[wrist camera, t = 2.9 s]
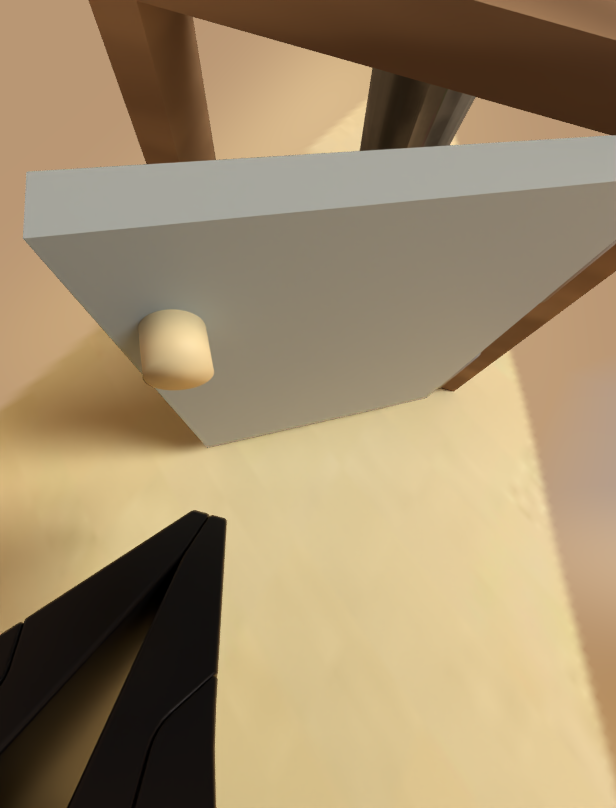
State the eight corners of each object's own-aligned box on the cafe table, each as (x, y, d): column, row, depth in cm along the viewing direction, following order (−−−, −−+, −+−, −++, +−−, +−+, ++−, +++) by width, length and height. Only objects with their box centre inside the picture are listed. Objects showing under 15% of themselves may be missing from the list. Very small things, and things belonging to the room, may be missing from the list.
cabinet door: (447, 412, 16) (764, 208, 6) (210, 469, 14) (19, 305, 3) (431, 374, 16) (685, 131, 6) (203, 422, 14) (26, 171, 4)
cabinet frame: (453, 391, 18) (840, 103, 6) (201, 318, 18) (45, -121, 6) (457, 354, 19) (796, 39, 7) (217, 285, 19) (113, -151, 7)
